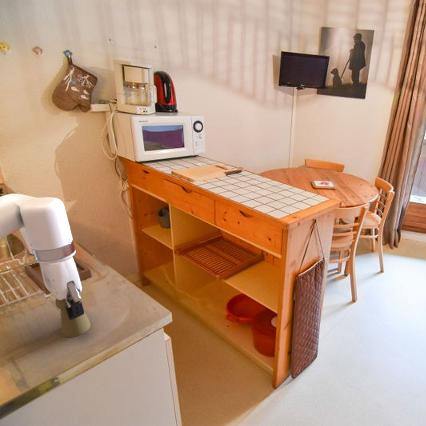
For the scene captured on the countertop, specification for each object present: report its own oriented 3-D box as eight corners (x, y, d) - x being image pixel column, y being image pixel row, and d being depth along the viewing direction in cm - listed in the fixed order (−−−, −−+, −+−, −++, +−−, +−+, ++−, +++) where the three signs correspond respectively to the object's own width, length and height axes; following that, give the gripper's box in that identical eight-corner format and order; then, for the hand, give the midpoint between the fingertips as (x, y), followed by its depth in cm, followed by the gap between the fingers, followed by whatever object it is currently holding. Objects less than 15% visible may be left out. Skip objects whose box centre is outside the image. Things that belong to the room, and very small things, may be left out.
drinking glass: (50, 245, 119) (39, 208, 113) (52, 252, 115) (41, 214, 109) (26, 250, 115) (13, 212, 109) (27, 258, 110) (14, 219, 104)
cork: (65, 340, 79) (54, 305, 75) (59, 328, 83) (49, 293, 79) (93, 329, 83) (85, 295, 79) (87, 317, 87) (78, 284, 83)
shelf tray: (92, 277, 104) (90, 269, 102) (46, 294, 94) (44, 286, 93) (69, 257, 113) (67, 250, 111) (25, 271, 103) (23, 264, 102)
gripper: (21, 243, 75) (41, 304, 82) (48, 270, 67) (68, 335, 74) (59, 233, 81) (74, 291, 88) (89, 256, 73) (103, 318, 80)
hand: (71, 310), depth 81 cm, fingers closed on cork, 5 cm apart
